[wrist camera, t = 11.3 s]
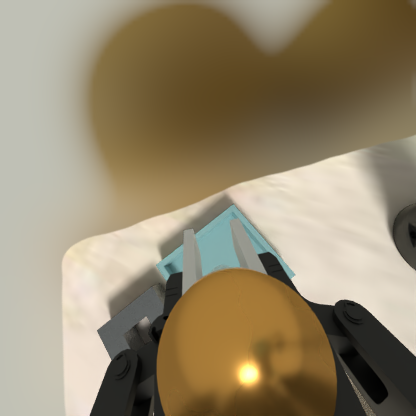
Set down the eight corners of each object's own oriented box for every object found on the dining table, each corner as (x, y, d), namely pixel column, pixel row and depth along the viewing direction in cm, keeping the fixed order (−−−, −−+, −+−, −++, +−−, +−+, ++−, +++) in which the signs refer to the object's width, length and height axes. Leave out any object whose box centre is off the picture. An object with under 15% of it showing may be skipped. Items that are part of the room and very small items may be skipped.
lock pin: (225, 251, 19) (250, 237, 5) (250, 283, 18) (378, 386, 4) (196, 275, 19) (125, 342, 4) (220, 309, 18) (233, 547, 3)
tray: (231, 209, 37) (233, 204, 33) (286, 272, 33) (295, 274, 29) (162, 264, 35) (155, 265, 31) (212, 338, 31) (211, 350, 27)
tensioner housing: (159, 283, 34) (151, 286, 30) (193, 335, 31) (189, 346, 27) (111, 321, 32) (96, 330, 29) (142, 380, 30) (130, 398, 26)
